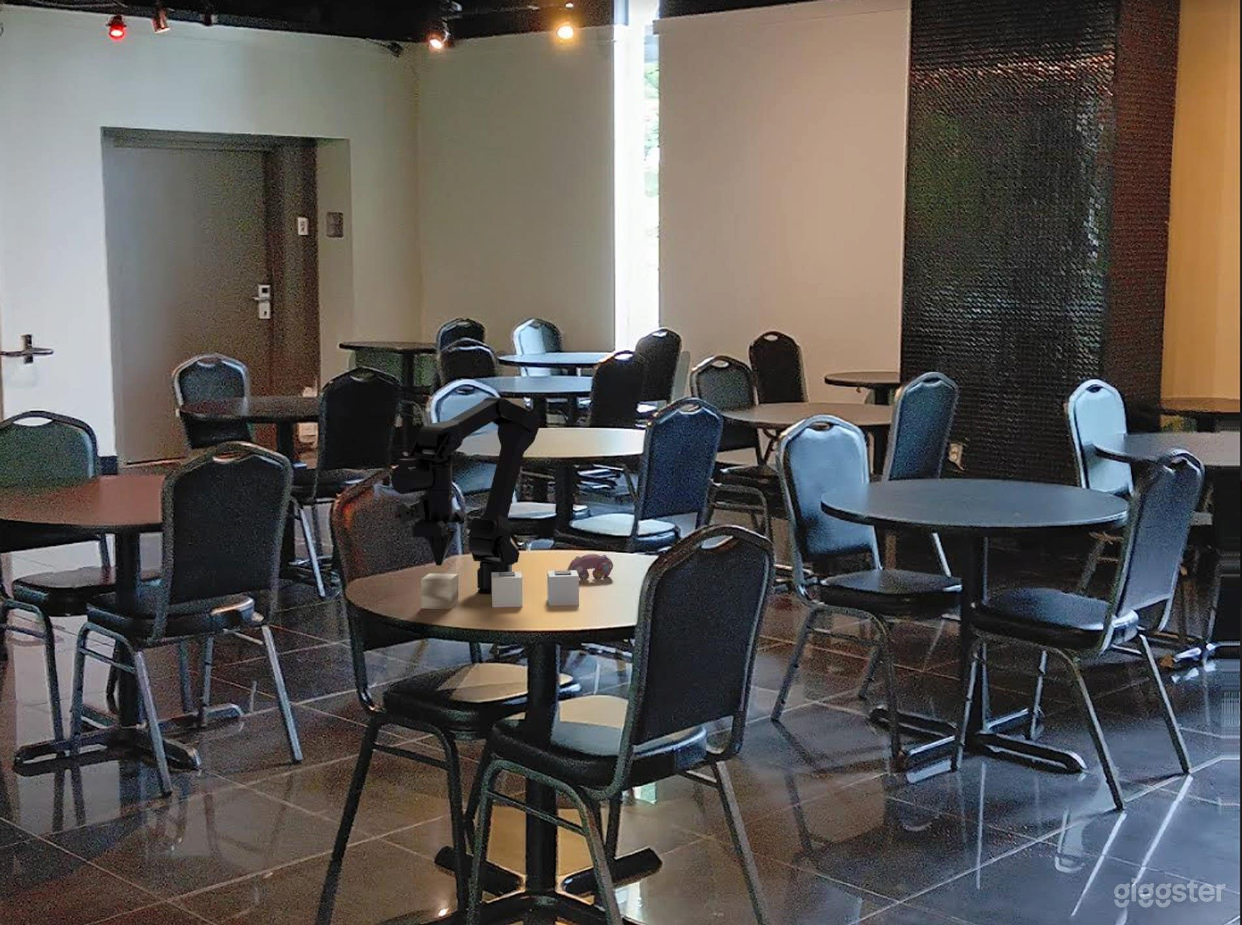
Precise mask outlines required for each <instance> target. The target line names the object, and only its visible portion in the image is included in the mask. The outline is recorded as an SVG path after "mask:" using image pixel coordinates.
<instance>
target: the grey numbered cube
mask: <svg viewBox="0 0 1242 925" xmlns="http://www.w3.org/2000/svg"><path fill="white" fill-rule="evenodd" d="M546 574H547V575H546V576H547V578H546V580H547V581H546V582H547V588H546V589H547V592H546V593H547V603H548V605H549V606H550V607H551V606H579V605H580V578H579V575H578V573H577V570H567V569H566V570H564V569H563V570H547V571H546Z"/></svg>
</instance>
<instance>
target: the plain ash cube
mask: <svg viewBox="0 0 1242 925" xmlns="http://www.w3.org/2000/svg"><path fill="white" fill-rule="evenodd" d="M420 584H421V585H420V587H421V588H420V589H421V609H431V610H432V609H434V610H435V609H436V610H452V609H453V608H455V606H457V605H458V604H459V574H458V573H430V572H429V573H427V575H425V576H424V577H422V578H421V579H420Z"/></svg>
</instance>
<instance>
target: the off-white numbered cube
mask: <svg viewBox="0 0 1242 925" xmlns="http://www.w3.org/2000/svg"><path fill="white" fill-rule="evenodd" d="M491 604H492V605H491V606H492V608H510V607H511V608H514V607H517V608H518V607H519V608H520V607H524V605H523V575H522V572H521V571H512V572H492V593H491Z"/></svg>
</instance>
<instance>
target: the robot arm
mask: <svg viewBox="0 0 1242 925" xmlns="http://www.w3.org/2000/svg"><path fill="white" fill-rule="evenodd" d="M491 423H492V424H493V425H495V426H497V433H496V434H497V437H498V440H499V445H500V451H499V454H498V458H497V462H496V465H495V466H496V467H495V470H494V475H493V479H492V481H491V486H490V489H489V493H488V498H487V503H486V505H485V510H484V512H483V513H482V514H481V516H480V517H473V519H472V520H471V524H470V529H469V532H468V533H467V537H468V541H467V543H468V547H469V550H470V553H471V556H472V560H473V562H479V568H477V570H476V571H477V572H476V574H477V576H476V577H477V578H476V580H477V581H476V582H477V584H476V585H477V593H480V594H492V572H513V568H512V567H513V565H515V564H517V563H518V561H519V558H520V551H519V550H518V549H517V548H516V546H515V545H514V543H512V541H511V539H512V528H511V526H510V521H509V512H510V510H511V506H512V501H513V497H514V493H515V490H516V486H517V483H518V477H519V473H520V470H521V466H522V462H523V457H524V454H525V452H526V451H527V450H528V449H529V448H530V447H531V446H532V445H533V444H534V442H535V440H536V436H537V435H538V432H539V429H540V425H541V421H540V419H539V417H538V415H537V412H535V411H534V410H531V409H527V408H525V407H522V406H520V405H518V404H516V403H513V402H511V401H510V400H508V399H506V397H500V396H487V397H485V398H484V399H483V400H482V401H480V402H478V403H477V404H475V405H474V406H472V407H470V408H468V409H466V410H465V411H463V412H461V413H459V414H458V415H456V416H454V417H453V418H450V419H448V420H444V421H439V422H433V423H429V424H426V425H424V426H422V427H420V429H419V430H418V434H417V437H416V439H415V441H414V443H413V445H412V448H411V449H410V451H409V453H408V455H407V458H399V459H398V465H397V466H395V468H394V469H393V471H392V474H391V475H390V483H391V486H392V488H393V490H394V491H395V492H396V493H397V494H399V495H407V494H413V493H418V492H423V493H422V494H420V496H419V499H418V501H416V502H415V501H414V502H413V503H410V504H409V503H407V502H402V503H399V504H397V505H396V509H395V510H394V512H393V513H394V519H396V520H397V521H398V523H399V525H400V526H402V525H405V524H407V522H411V521H414V520H417V519H418V520H417V521H416V522H415V523H413V525H411V526H410V536H411V537H412V538H424V539H426V540H427V541H428V543H429V547H430V550H431V552H432V558H433V559H434V563H435V566H439V567H441V566H442V565H443V564H444V561H445V558H446V556H447V553H448V551H449V548H450V547H451V543H452V541H453V539H454V537H455V535H456V532H458V531H457V530H458V529H457V528H454V527H453V528H451V525H450V524H449V523H457V525H463V524H464V523H465V513H464V512H463V511H462V510H461V509H460V508H458V509H455V508H453V499H454V498H455V497H456V492H455V491H453V466H455V465H459V464H460V460H458V458H457V457H456V456H454V452H456V451H457V450H458V449H459V448H461V446H462V445H463V441H464V439H466V438H467V437H468V436H470V435H472V434H473V433H475V432H477V431H478V430H481V429H482V428H484V427H486V426H487V425H489V424H491Z"/></svg>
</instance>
